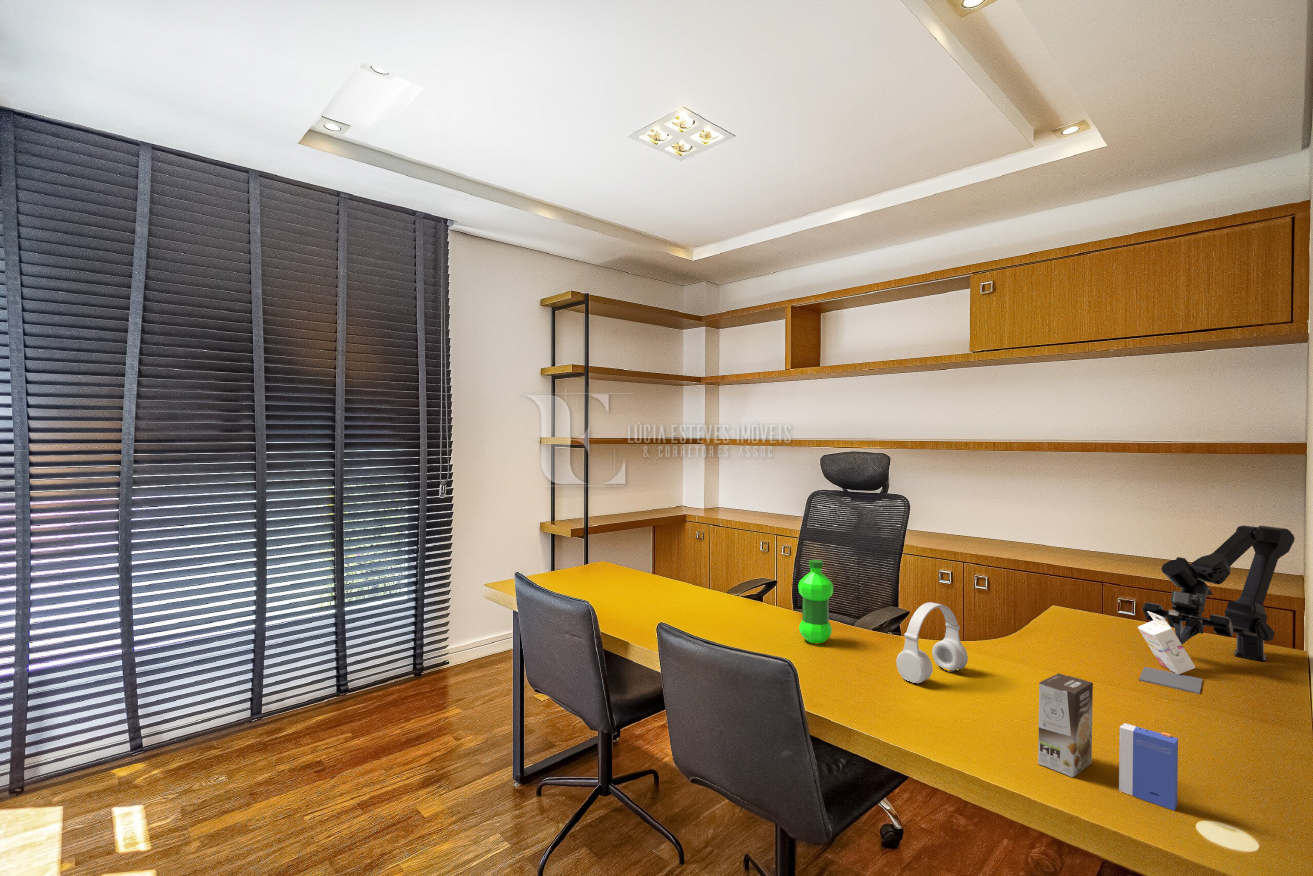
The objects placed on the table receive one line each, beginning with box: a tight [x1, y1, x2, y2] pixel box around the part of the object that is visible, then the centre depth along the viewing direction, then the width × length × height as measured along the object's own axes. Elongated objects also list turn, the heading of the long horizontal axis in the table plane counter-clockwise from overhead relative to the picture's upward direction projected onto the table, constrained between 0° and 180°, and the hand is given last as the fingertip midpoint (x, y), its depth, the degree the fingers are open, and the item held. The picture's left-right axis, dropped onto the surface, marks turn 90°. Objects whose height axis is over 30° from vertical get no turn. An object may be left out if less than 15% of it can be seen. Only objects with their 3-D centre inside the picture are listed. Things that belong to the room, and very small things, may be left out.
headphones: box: [895, 601, 969, 684], centre depth 163 cm, size 20×8×19 cm, turn 121°
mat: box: [1138, 666, 1203, 695], centre depth 161 cm, size 12×12×1 cm
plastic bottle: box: [797, 559, 834, 644], centre depth 190 cm, size 10×10×25 cm
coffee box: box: [1037, 673, 1094, 778], centre depth 120 cm, size 9×6×16 cm
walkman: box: [1118, 722, 1179, 811], centre depth 109 cm, size 8×3×12 cm, turn 42°
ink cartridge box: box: [1137, 611, 1196, 674], centre depth 168 cm, size 9×5×15 cm, turn 168°
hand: (1179, 644), depth 168 cm, fingers closed
